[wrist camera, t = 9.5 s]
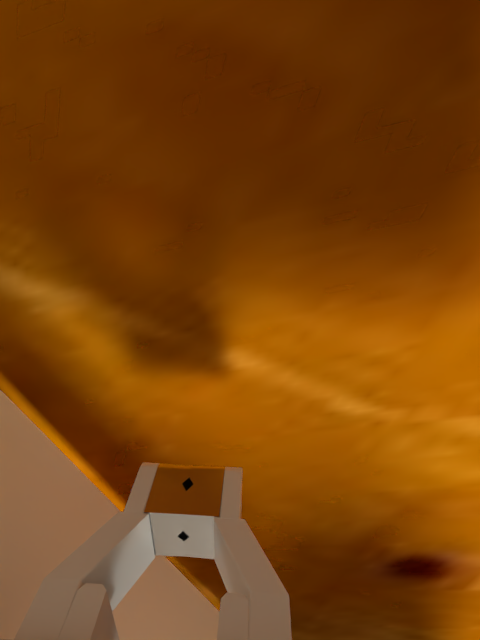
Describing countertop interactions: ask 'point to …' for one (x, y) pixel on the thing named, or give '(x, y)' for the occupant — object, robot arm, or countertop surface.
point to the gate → (76, 540)
